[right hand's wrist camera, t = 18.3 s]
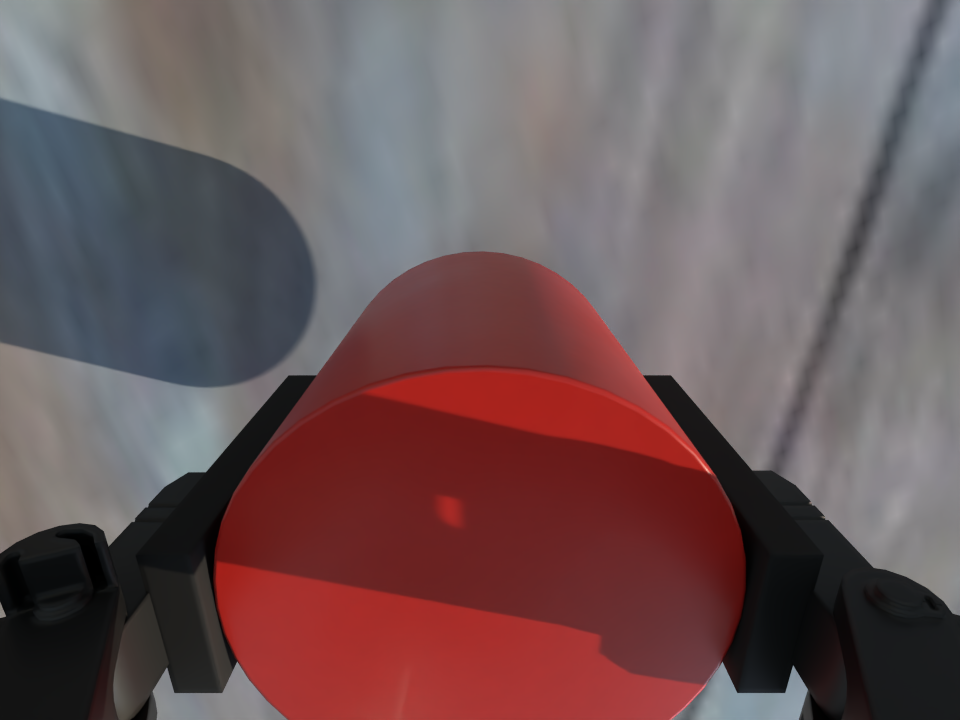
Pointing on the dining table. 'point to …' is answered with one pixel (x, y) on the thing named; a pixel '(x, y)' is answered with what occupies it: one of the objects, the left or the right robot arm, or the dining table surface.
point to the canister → (479, 519)
